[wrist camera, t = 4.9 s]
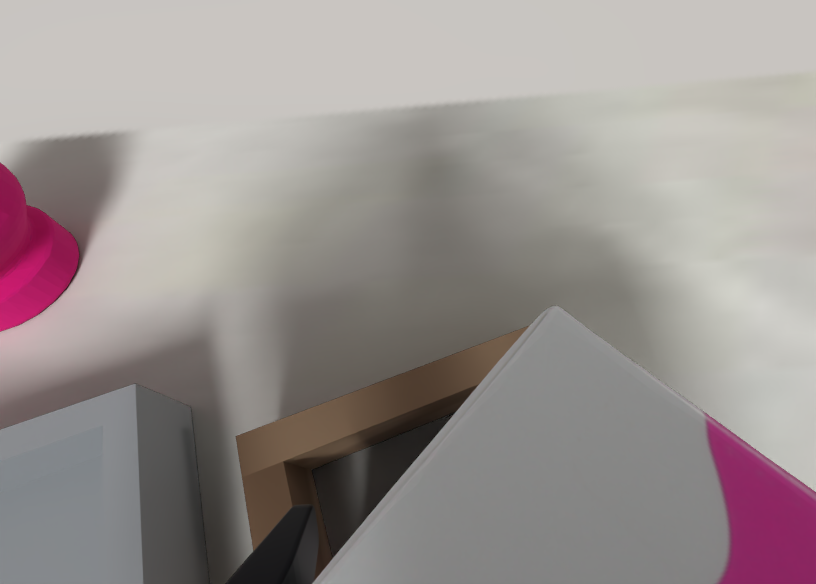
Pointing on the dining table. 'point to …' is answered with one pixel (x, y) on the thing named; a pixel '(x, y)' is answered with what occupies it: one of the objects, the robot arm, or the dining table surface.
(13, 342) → the dining table surface
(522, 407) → the supplement box
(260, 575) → the robot arm
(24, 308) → the pepper mill
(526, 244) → the dining table surface
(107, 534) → the tray
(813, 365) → the dining table surface
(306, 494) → the holder
